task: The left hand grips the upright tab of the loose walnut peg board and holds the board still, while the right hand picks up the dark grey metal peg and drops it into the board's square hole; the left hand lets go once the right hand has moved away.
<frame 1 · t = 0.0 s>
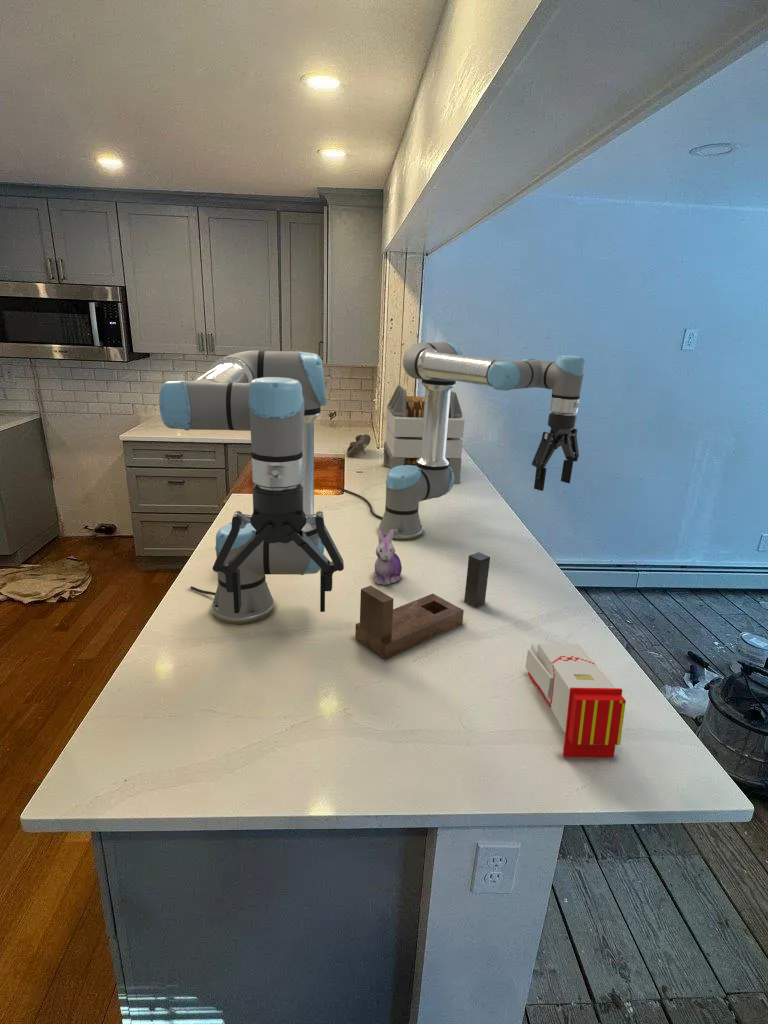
left hand: (280, 608, 92), 28 cm above the counter, fingers open, 13 cm apart
right hand: (552, 485, 166), 28 cm above the counter, fingers open, 13 cm apart
toy: (563, 708, 115), on the counter
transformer: (419, 473, 275), on the counter
figurine character: (232, 569, 168), on the counter
fossil: (358, 453, 307), on the counter
peg: (474, 602, 155), on the counter
figurine: (387, 579, 166), on the counter
peg board: (410, 631, 140), on the counter
feather: (280, 519, 209), on the counter
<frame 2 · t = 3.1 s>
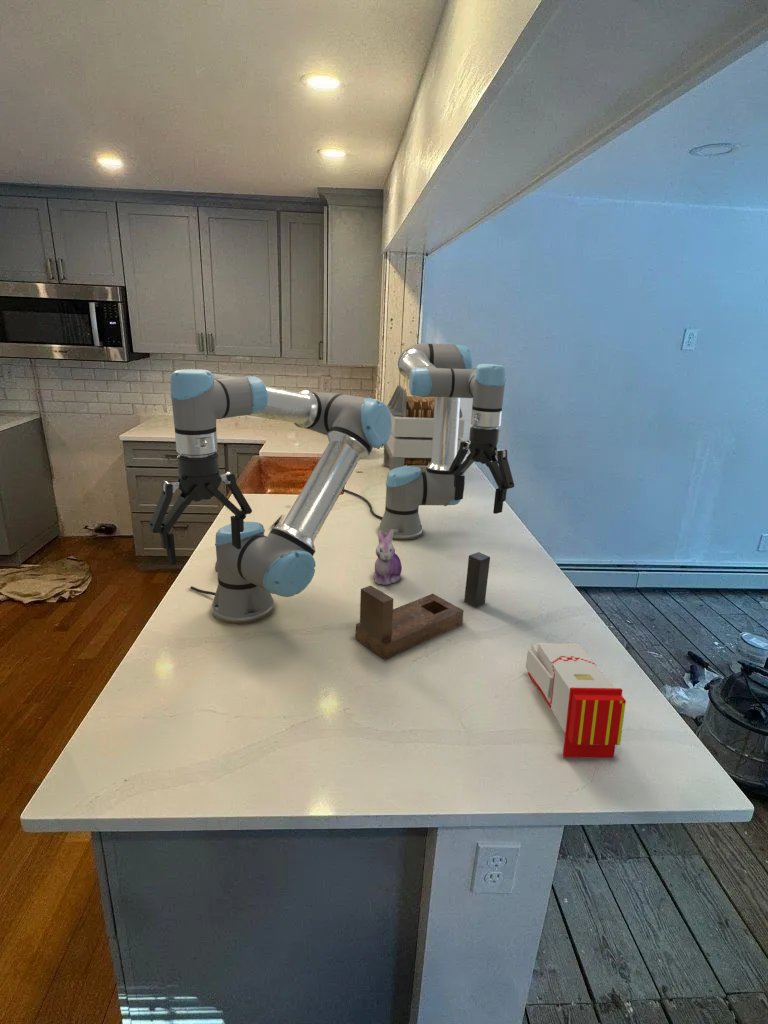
left hand: (205, 554, 116), 26 cm above the counter, fingers open, 13 cm apart
right hand: (477, 505, 151), 26 cm above the counter, fingers open, 13 cm apart
nothing on the counter moved.
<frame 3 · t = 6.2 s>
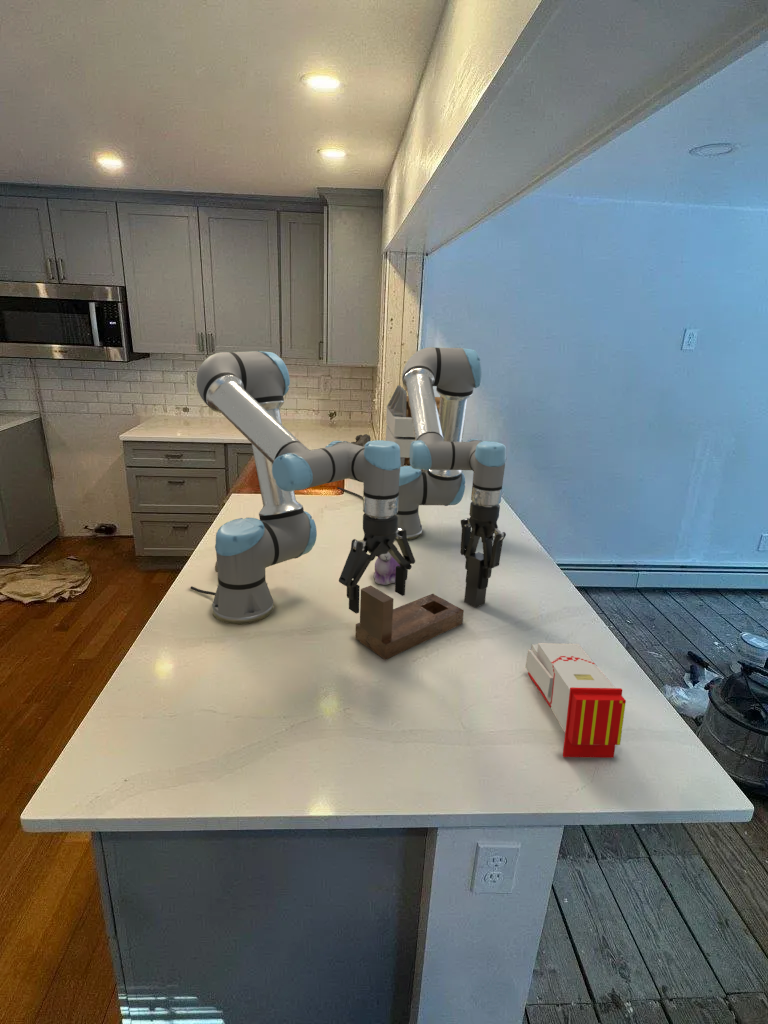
left hand: (377, 602, 129), 12 cm above the counter, fingers open, 13 cm apart
right hand: (476, 584, 153), 6 cm above the counter, fingers closed on peg, 4 cm apart
peg: (474, 602, 155), on the counter, touching right hand
everything else where it was.
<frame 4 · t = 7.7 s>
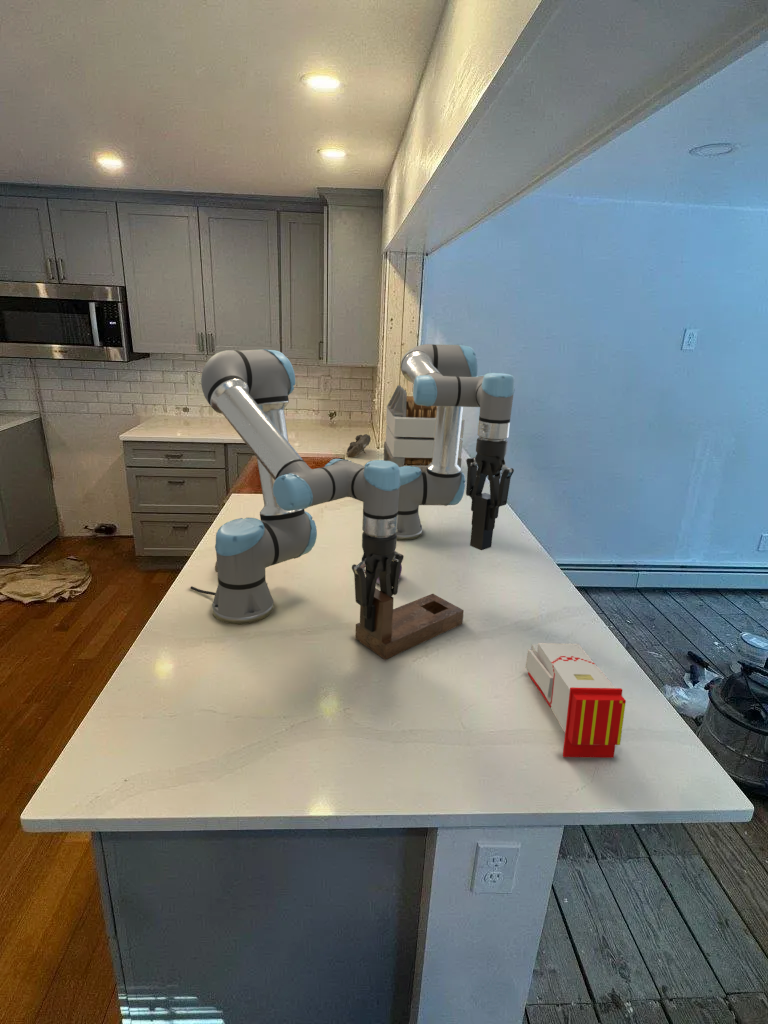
left hand: (375, 626, 131), 6 cm above the counter, fingers closed on peg board, 3 cm apart
right hand: (482, 526, 147), 22 cm above the counter, fingers closed on peg, 4 cm apart
peg: (480, 546, 149), point 17 cm above the counter, touching right hand
peg board: (410, 631, 140), on the counter, touching left hand
everything else where it was.
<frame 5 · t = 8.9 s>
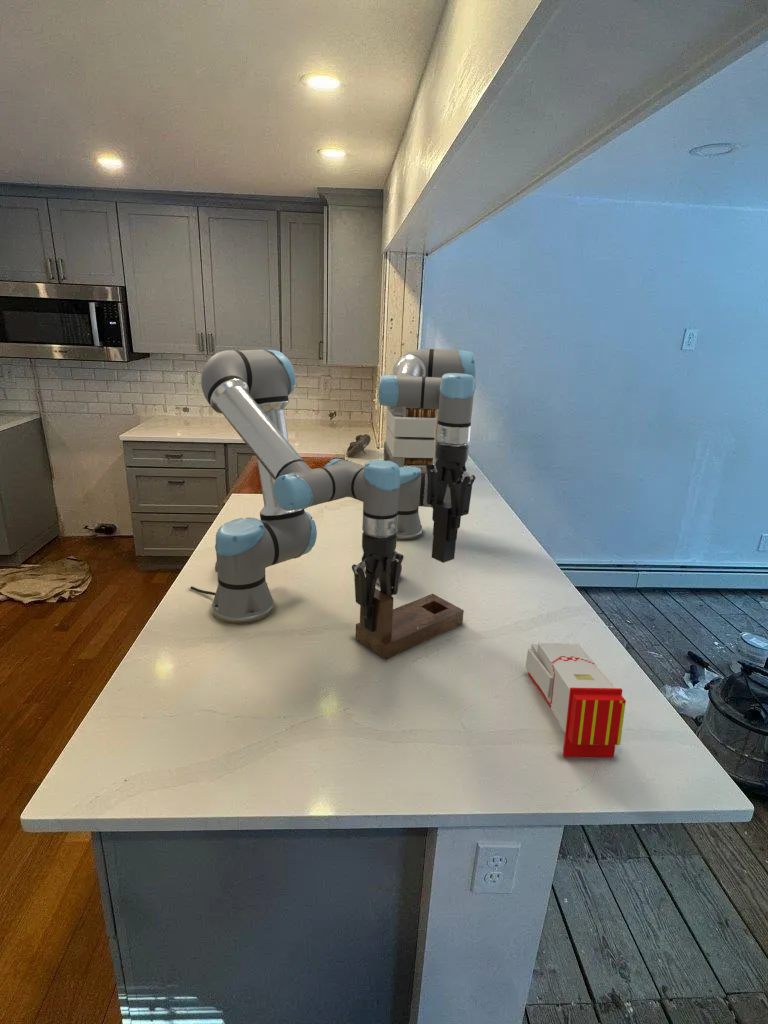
left hand: (375, 626, 131), 6 cm above the counter, fingers closed on peg board, 3 cm apart
right hand: (444, 537, 138), 23 cm above the counter, fingers closed on peg, 4 cm apart
peg: (442, 558, 140), point 17 cm above the counter, touching right hand
peg board: (410, 631, 140), on the counter, touching left hand
everything else where it was.
when the right hand's fingers open (8 cm above the counter, at t = 11.7 s): peg drops 2 cm, resting in peg board.
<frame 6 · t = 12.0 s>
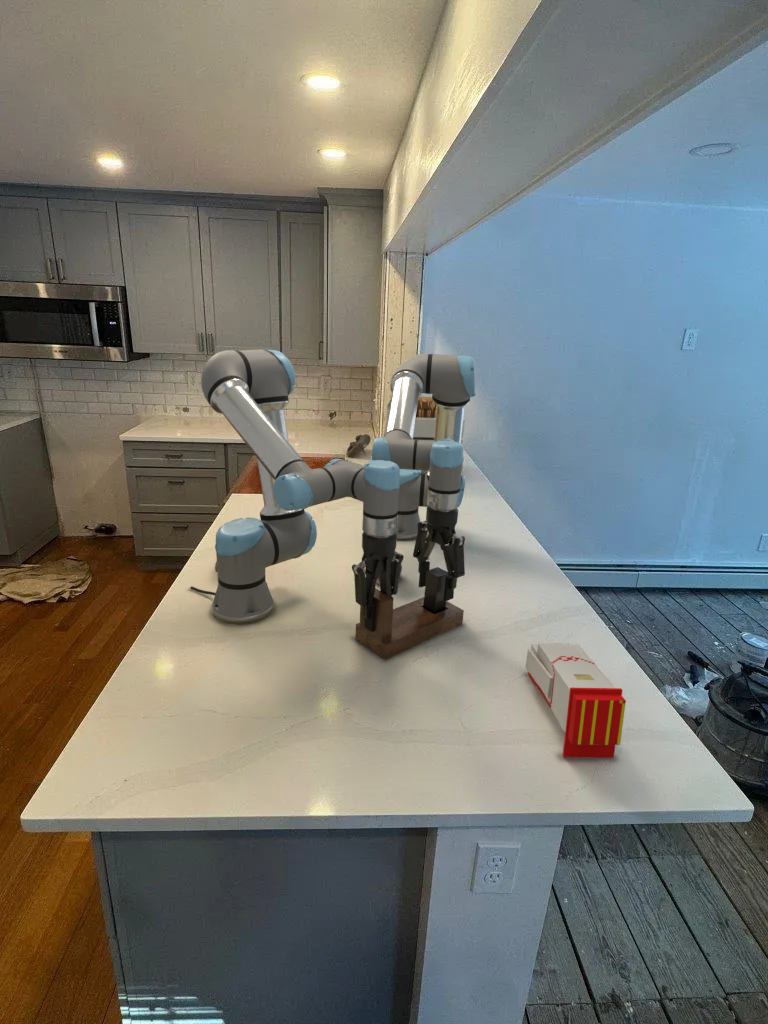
left hand: (375, 626, 131), 6 cm above the counter, fingers closed on peg board, 3 cm apart
right hand: (435, 592, 142), 8 cm above the counter, fingers open, 8 cm apart
peg: (432, 620, 145), resting in peg board
peg board: (410, 631, 140), on the counter, touching left hand
everything else where it was.
when the left hand's fingers open (6 cm above the counter, at t = 16.8 s): peg board stays where it is, on the counter.
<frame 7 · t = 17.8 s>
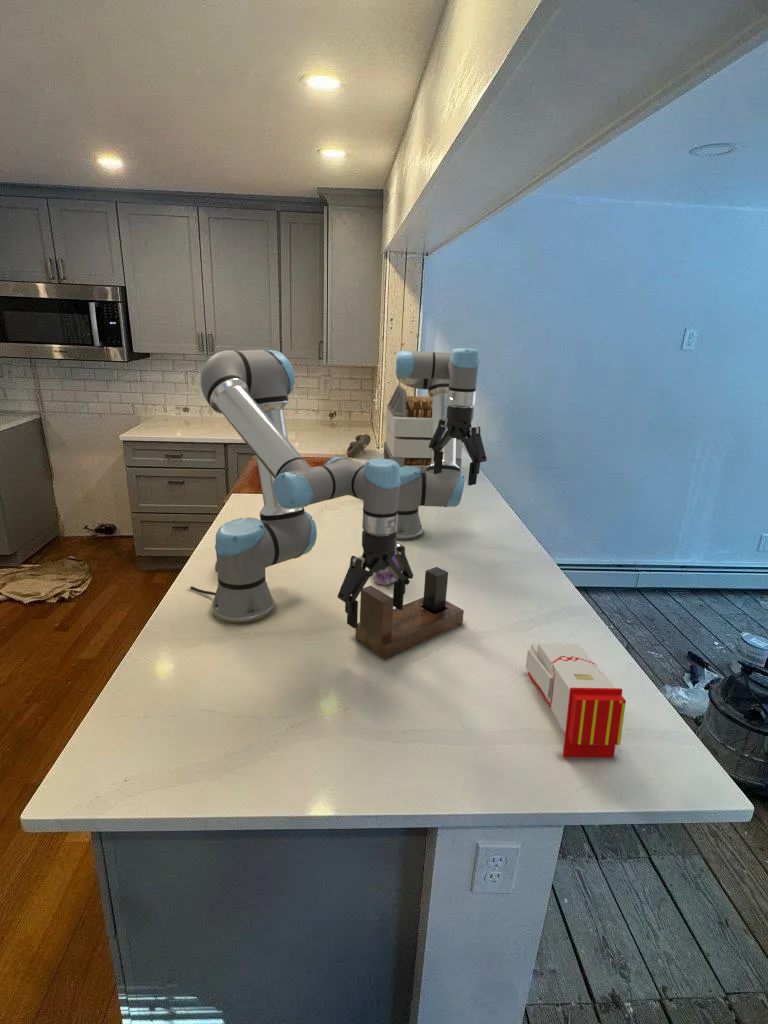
left hand: (375, 616, 130), 8 cm above the counter, fingers open, 13 cm apart
right hand: (454, 478, 166), 29 cm above the counter, fingers open, 13 cm apart
peg board: (410, 631, 140), on the counter
everything else where it was.
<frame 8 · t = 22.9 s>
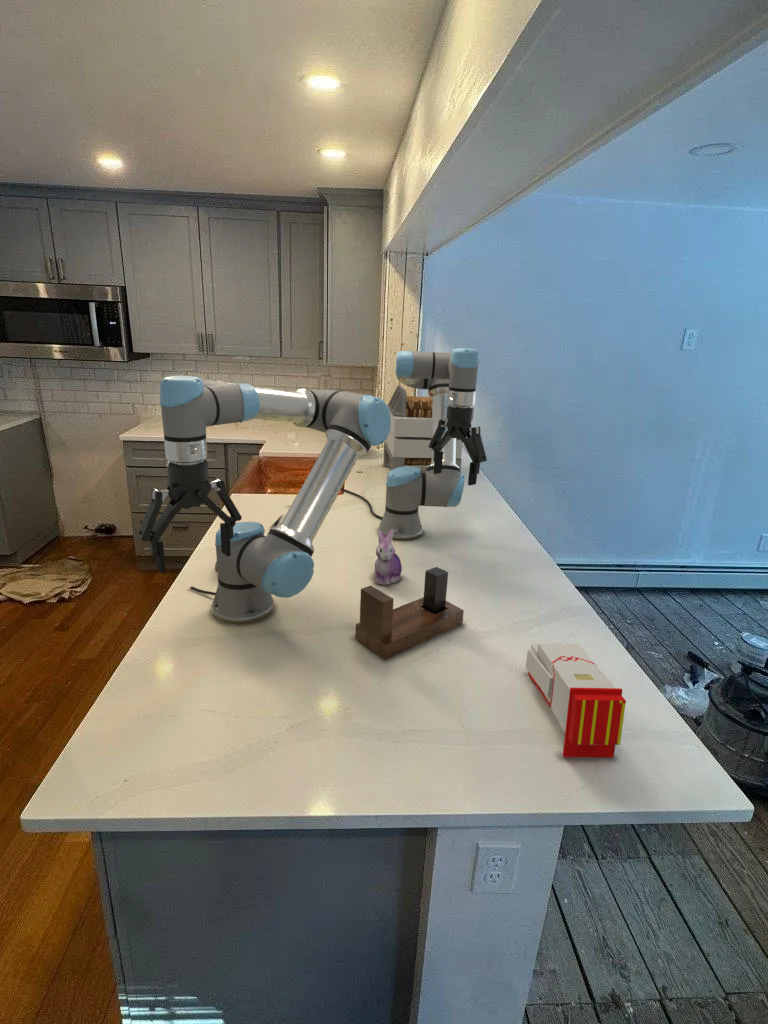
left hand: (194, 562, 115), 25 cm above the counter, fingers open, 13 cm apart
right hand: (454, 478, 166), 29 cm above the counter, fingers open, 13 cm apart
nothing on the counter moved.
at the end: peg 0.1 cm from the target spot, resting in peg board; peg board moved 0.0 cm from its start; the left hand is holding nothing; the right hand is holding nothing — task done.
